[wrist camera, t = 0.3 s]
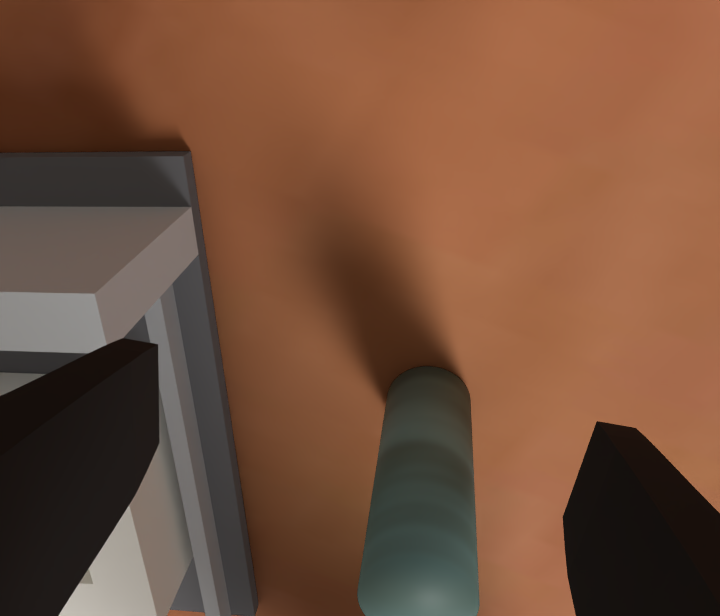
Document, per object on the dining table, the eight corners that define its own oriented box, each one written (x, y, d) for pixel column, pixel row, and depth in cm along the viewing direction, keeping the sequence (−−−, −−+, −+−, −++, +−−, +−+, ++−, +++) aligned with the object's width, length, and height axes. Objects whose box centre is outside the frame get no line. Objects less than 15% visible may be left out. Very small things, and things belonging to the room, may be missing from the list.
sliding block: (195, 551, 26) (160, 629, 23) (5, 538, 27) (-52, 611, 24) (160, 378, 23) (113, 442, 19) (-57, 370, 24) (-134, 430, 20)
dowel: (469, 437, 23) (476, 646, 16) (387, 433, 23) (359, 635, 16) (472, 367, 22) (481, 559, 15) (386, 365, 22) (355, 551, 15)
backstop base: (258, 604, 28) (207, 771, 22) (-6, 583, 30) (-119, 734, 24) (190, 151, 20) (78, 227, 14) (-175, 154, 21) (-416, 224, 15)
